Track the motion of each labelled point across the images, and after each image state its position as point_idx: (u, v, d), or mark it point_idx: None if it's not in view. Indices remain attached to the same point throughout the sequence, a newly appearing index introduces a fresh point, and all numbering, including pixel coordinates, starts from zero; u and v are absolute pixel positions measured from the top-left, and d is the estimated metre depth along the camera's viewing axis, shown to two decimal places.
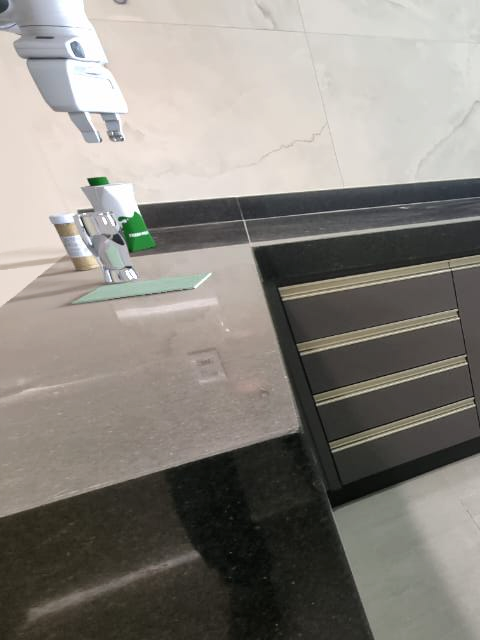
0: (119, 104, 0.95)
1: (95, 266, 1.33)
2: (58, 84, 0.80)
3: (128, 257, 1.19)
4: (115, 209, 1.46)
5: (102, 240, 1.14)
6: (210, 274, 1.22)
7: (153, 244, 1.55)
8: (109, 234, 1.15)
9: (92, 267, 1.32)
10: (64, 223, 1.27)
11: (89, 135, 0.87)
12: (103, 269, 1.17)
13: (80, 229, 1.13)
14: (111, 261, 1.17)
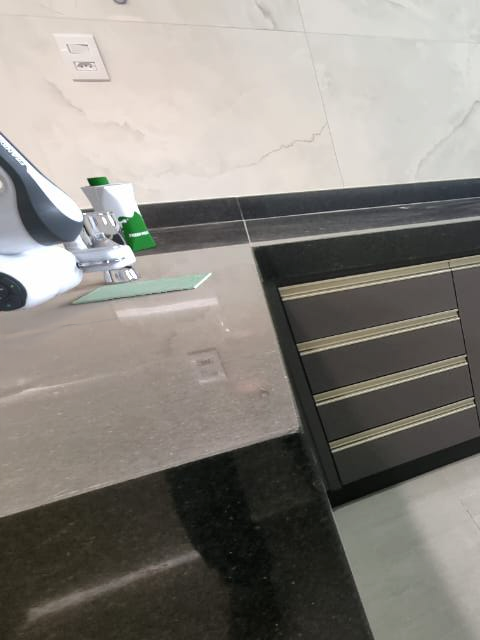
0: None
1: None
2: None
3: None
4: (115, 209, 1.46)
5: (102, 240, 1.14)
6: (210, 274, 1.22)
7: (153, 244, 1.55)
8: (109, 234, 1.15)
9: None
10: None
11: None
12: None
13: None
14: None
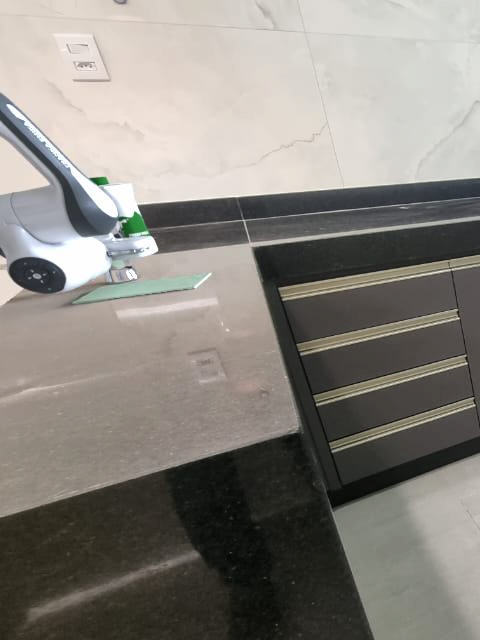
0: None
1: None
2: None
3: None
4: None
5: None
6: (210, 274, 1.22)
7: None
8: (109, 234, 1.15)
9: None
10: None
11: None
12: None
13: None
14: None
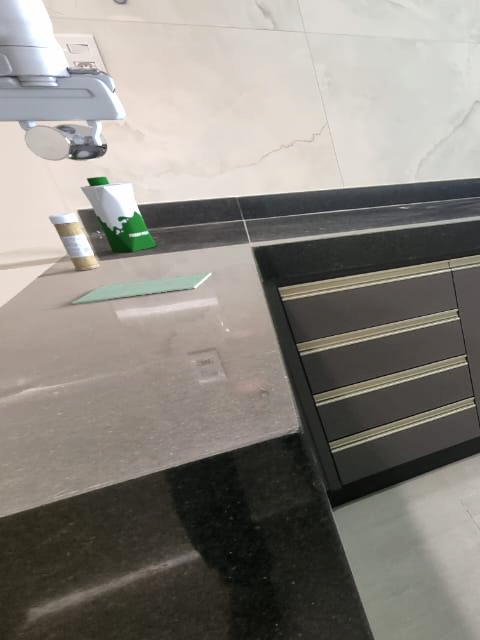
0: (94, 112, 1.03)
1: (95, 266, 1.33)
2: None
3: (78, 141, 1.03)
4: (115, 209, 1.46)
5: (72, 124, 1.05)
6: (210, 274, 1.22)
7: (153, 244, 1.55)
8: (84, 128, 1.06)
9: (92, 267, 1.32)
10: (64, 223, 1.27)
11: None
12: None
13: None
14: (57, 128, 1.01)
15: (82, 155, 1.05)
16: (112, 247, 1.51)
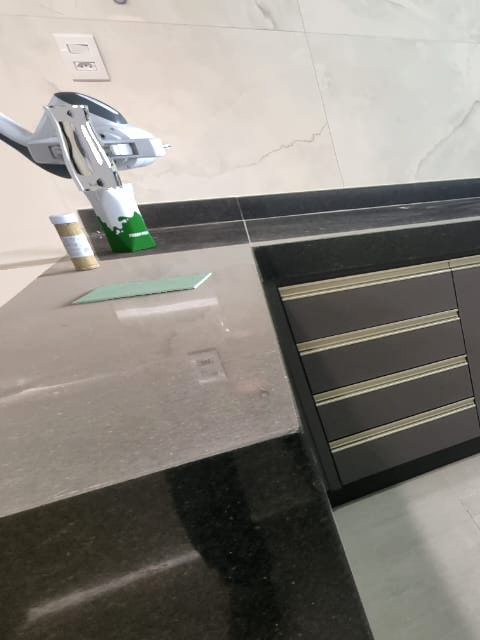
0: (133, 138, 1.08)
1: (95, 266, 1.33)
2: None
3: (95, 133, 1.01)
4: (115, 209, 1.46)
5: None
6: (210, 274, 1.22)
7: (153, 244, 1.55)
8: None
9: (92, 267, 1.32)
10: (64, 223, 1.27)
11: None
12: None
13: None
14: None
15: (87, 142, 0.99)
16: (112, 247, 1.51)
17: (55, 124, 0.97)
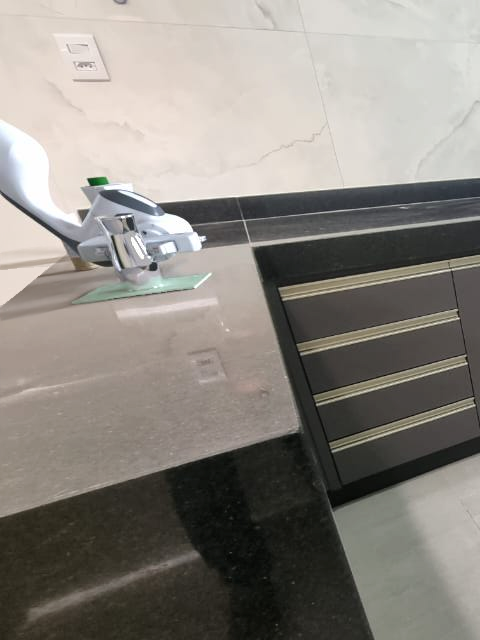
0: (173, 236, 1.16)
1: (95, 266, 1.33)
2: None
3: (141, 238, 1.10)
4: None
5: None
6: (210, 274, 1.22)
7: None
8: None
9: (92, 267, 1.32)
10: None
11: None
12: None
13: None
14: None
15: (134, 248, 1.08)
16: None
17: (105, 234, 1.06)
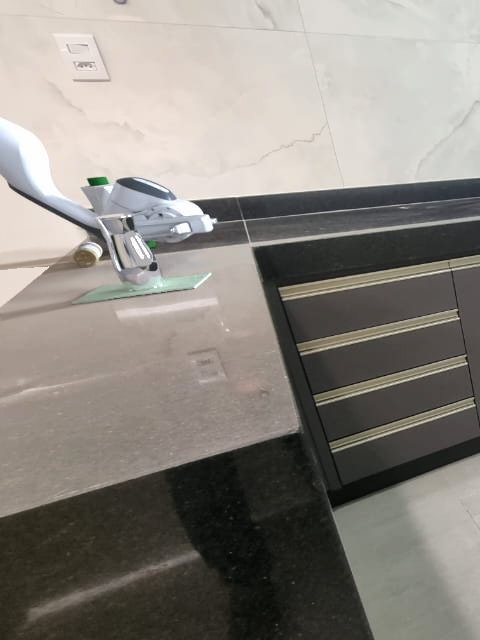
0: (187, 217, 1.26)
1: (91, 251, 1.35)
2: None
3: (141, 238, 1.10)
4: None
5: None
6: (210, 274, 1.22)
7: (153, 244, 1.55)
8: None
9: (87, 250, 1.34)
10: (86, 243, 1.41)
11: None
12: None
13: None
14: None
15: (134, 248, 1.08)
16: None
17: (105, 234, 1.06)
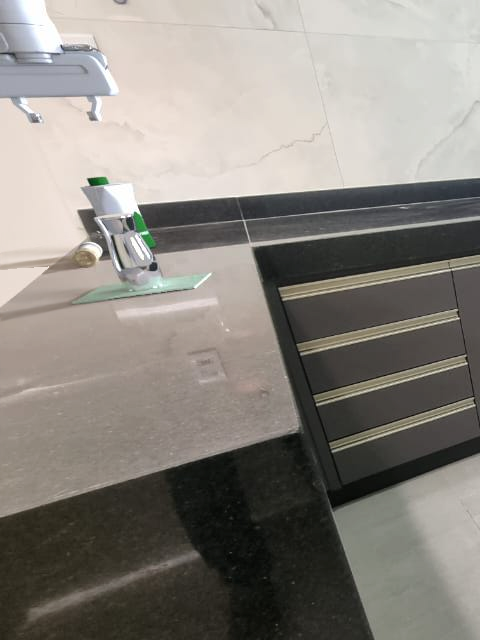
0: (88, 88, 1.07)
1: (91, 251, 1.35)
2: None
3: (141, 238, 1.10)
4: (115, 209, 1.46)
5: None
6: (210, 274, 1.22)
7: (153, 244, 1.55)
8: None
9: (87, 250, 1.34)
10: (86, 243, 1.41)
11: None
12: None
13: None
14: None
15: (134, 248, 1.08)
16: None
17: (105, 234, 1.06)
